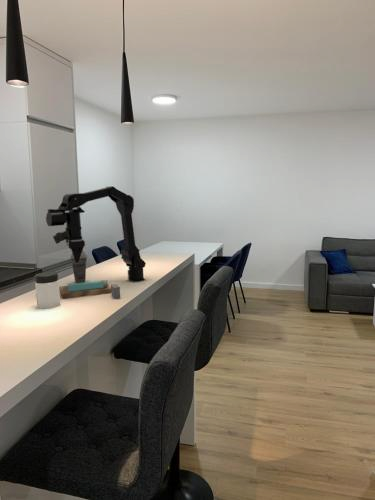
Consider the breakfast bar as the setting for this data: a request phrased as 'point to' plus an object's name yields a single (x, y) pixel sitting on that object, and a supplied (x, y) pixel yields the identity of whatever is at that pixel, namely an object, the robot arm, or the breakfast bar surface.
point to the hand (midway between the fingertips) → (76, 261)
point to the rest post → (115, 291)
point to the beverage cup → (79, 268)
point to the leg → (87, 285)
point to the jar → (47, 290)
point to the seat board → (82, 292)
